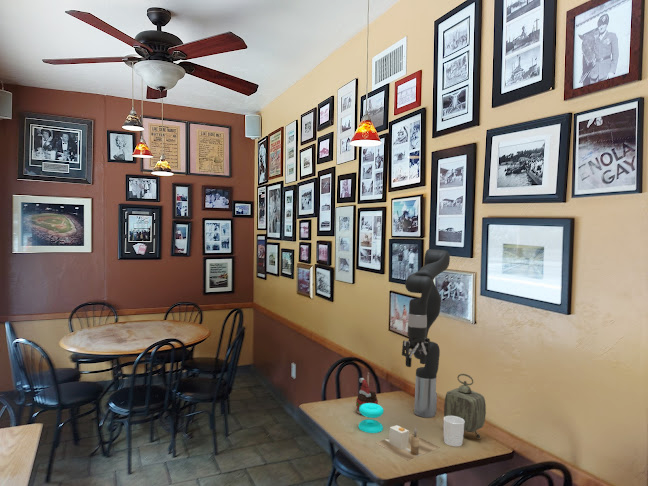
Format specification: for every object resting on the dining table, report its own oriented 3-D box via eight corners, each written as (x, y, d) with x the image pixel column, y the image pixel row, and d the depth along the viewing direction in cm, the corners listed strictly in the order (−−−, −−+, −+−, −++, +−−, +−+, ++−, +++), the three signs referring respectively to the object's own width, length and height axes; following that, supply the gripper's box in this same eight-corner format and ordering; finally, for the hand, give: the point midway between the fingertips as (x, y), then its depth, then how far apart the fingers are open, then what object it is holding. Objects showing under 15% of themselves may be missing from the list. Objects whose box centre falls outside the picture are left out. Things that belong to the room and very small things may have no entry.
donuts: (360, 400, 186) (384, 403, 184) (359, 424, 186) (383, 427, 184) (357, 409, 176) (382, 412, 174) (356, 434, 176) (381, 437, 174)
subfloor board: (407, 434, 178) (407, 431, 178) (439, 450, 165) (440, 447, 165) (375, 445, 167) (375, 442, 167) (407, 463, 154) (407, 460, 154)
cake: (382, 415, 197) (383, 374, 197) (365, 418, 192) (367, 377, 192) (367, 407, 206) (369, 368, 206) (351, 410, 201) (353, 371, 201)
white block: (396, 440, 169) (397, 423, 169) (408, 446, 164) (409, 429, 164) (389, 443, 167) (389, 425, 167) (400, 449, 162) (401, 431, 162)
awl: (420, 453, 159) (421, 429, 159) (414, 455, 157) (416, 430, 157) (414, 450, 161) (415, 426, 161) (409, 452, 160) (410, 427, 160)
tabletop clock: (484, 439, 177) (487, 376, 177) (473, 445, 171) (476, 381, 171) (452, 427, 187) (454, 368, 187) (440, 432, 181) (443, 371, 181)
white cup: (460, 452, 164) (461, 425, 164) (439, 446, 169) (440, 420, 169) (465, 444, 171) (467, 418, 171) (445, 439, 175) (446, 414, 175)
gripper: (421, 322, 185) (419, 360, 185) (398, 324, 177) (396, 365, 177) (435, 325, 179) (434, 365, 179) (412, 328, 171) (410, 370, 171)
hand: (415, 365), depth 178 cm, fingers open, 8 cm apart
